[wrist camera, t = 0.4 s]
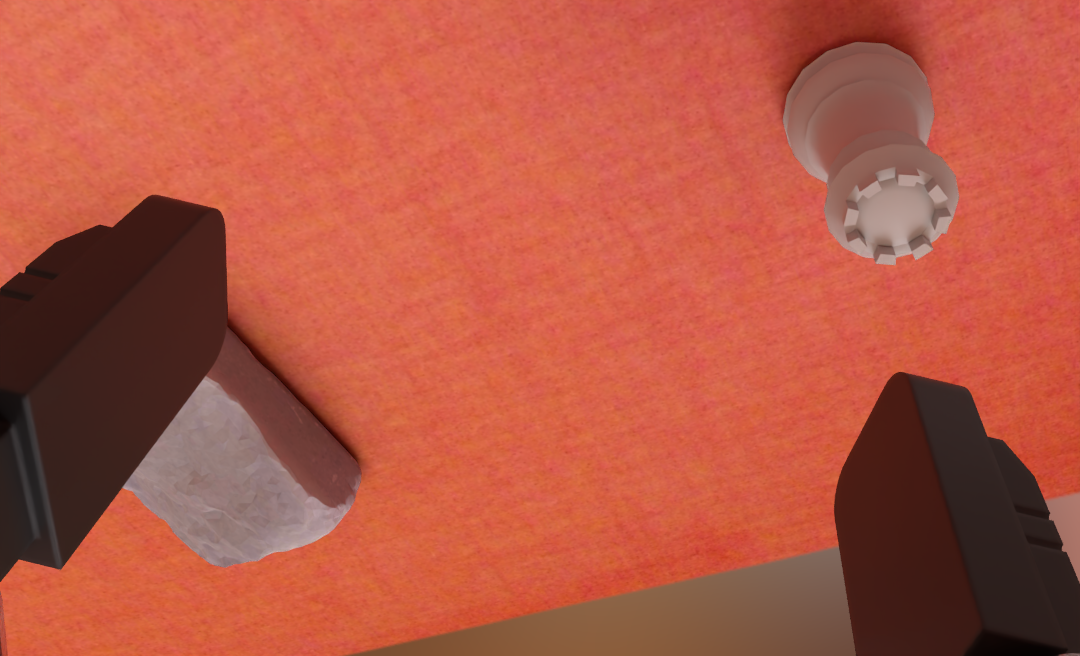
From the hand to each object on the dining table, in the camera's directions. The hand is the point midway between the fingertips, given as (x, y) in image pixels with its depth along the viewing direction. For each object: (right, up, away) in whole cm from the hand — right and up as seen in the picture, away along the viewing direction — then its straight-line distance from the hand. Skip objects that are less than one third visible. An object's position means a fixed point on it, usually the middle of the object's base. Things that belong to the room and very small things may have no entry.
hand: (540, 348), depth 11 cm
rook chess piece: (+10, +7, +18) cm, 22 cm away
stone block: (-15, -4, +31) cm, 34 cm away
